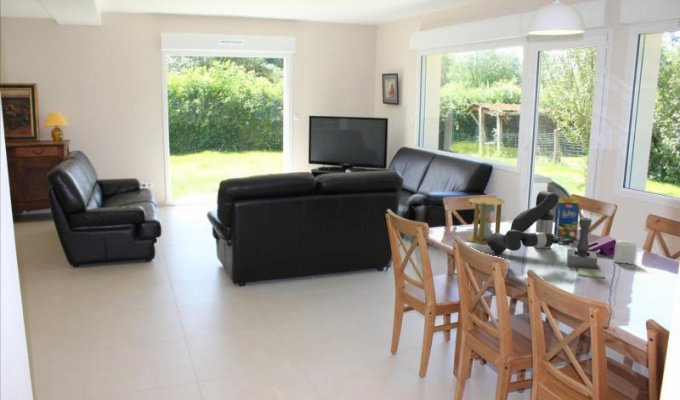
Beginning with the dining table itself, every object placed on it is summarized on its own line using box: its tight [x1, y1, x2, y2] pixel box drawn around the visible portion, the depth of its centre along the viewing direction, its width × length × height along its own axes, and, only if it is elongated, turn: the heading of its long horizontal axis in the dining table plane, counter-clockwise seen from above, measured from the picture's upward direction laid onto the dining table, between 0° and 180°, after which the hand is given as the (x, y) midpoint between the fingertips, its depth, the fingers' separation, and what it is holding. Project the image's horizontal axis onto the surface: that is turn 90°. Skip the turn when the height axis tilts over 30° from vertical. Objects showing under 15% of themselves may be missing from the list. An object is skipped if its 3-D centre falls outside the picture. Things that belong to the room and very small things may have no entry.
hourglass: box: [466, 196, 506, 245], centre depth 358 cm, size 24×22×25 cm
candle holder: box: [576, 217, 592, 256], centre depth 310 cm, size 6×6×25 cm
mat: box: [577, 268, 606, 279], centre depth 297 cm, size 12×12×1 cm
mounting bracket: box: [588, 234, 617, 256], centre depth 335 cm, size 10×8×18 cm
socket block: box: [566, 248, 598, 270], centre depth 311 cm, size 14×14×6 cm
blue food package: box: [553, 198, 580, 239], centre depth 367 cm, size 6×12×25 cm, turn 90°
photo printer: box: [613, 240, 637, 265], centre depth 316 cm, size 10×4×12 cm, turn 72°
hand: (568, 239), depth 306 cm, fingers open, 8 cm apart
